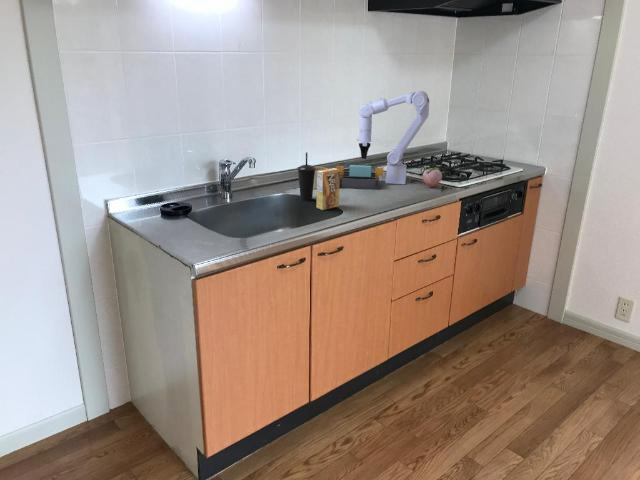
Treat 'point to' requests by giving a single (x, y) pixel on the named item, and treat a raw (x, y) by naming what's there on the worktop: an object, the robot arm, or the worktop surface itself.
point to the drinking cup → (306, 181)
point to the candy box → (328, 188)
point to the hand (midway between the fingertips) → (363, 158)
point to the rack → (359, 180)
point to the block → (360, 171)
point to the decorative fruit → (432, 176)
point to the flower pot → (316, 176)
